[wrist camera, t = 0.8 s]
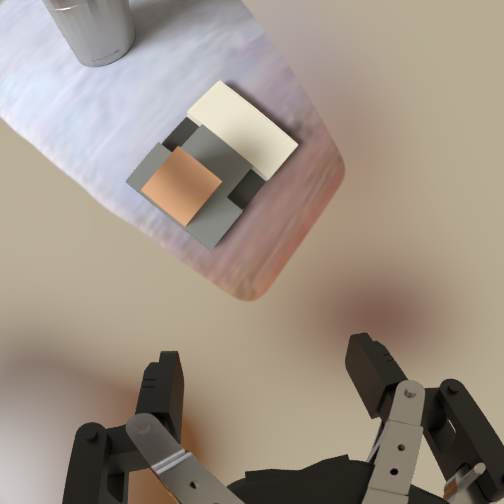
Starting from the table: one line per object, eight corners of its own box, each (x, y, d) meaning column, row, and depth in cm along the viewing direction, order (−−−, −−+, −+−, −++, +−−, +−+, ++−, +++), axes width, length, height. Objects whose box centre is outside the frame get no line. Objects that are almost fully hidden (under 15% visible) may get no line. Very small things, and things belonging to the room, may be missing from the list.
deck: (209, 249, 36) (210, 251, 34) (128, 183, 33) (125, 181, 32) (265, 181, 37) (269, 179, 35) (186, 117, 34) (186, 111, 32)
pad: (265, 181, 37) (269, 179, 35) (186, 117, 34) (186, 111, 32) (293, 148, 37) (298, 144, 35) (218, 86, 34) (219, 80, 33)
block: (186, 226, 34) (184, 226, 25) (153, 199, 32) (140, 190, 24) (213, 192, 34) (222, 181, 25) (181, 165, 33) (178, 145, 24)
